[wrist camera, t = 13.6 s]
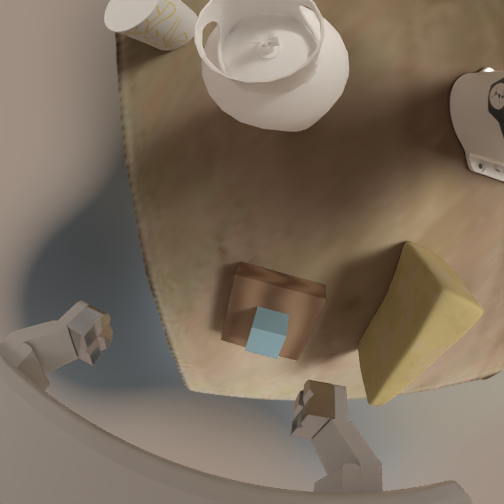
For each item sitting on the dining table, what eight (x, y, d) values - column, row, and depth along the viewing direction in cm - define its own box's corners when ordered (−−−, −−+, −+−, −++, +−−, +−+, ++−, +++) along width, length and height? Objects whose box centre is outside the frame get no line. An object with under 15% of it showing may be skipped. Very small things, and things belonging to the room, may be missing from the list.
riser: (325, 285, 42) (326, 299, 39) (298, 345, 49) (297, 360, 45) (240, 261, 43) (234, 274, 40) (226, 325, 50) (220, 339, 46)
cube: (289, 314, 41) (286, 336, 37) (280, 337, 43) (276, 358, 39) (257, 306, 41) (251, 327, 37) (251, 329, 44) (244, 350, 39)
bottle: (327, 128, 33) (390, 118, 8) (267, 135, 34) (171, 148, 10) (316, 72, 29) (338, -52, 4) (257, 80, 31) (148, -13, 6)
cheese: (379, 352, 47) (391, 414, 33) (338, 339, 47) (343, 405, 33) (447, 260, 36) (489, 313, 23) (405, 237, 37) (445, 289, 23)
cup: (159, 59, 32) (112, 43, 21) (144, 26, 29) (99, 6, 18) (206, 33, 29) (169, 4, 18) (188, -1, 26) (150, -31, 16)
